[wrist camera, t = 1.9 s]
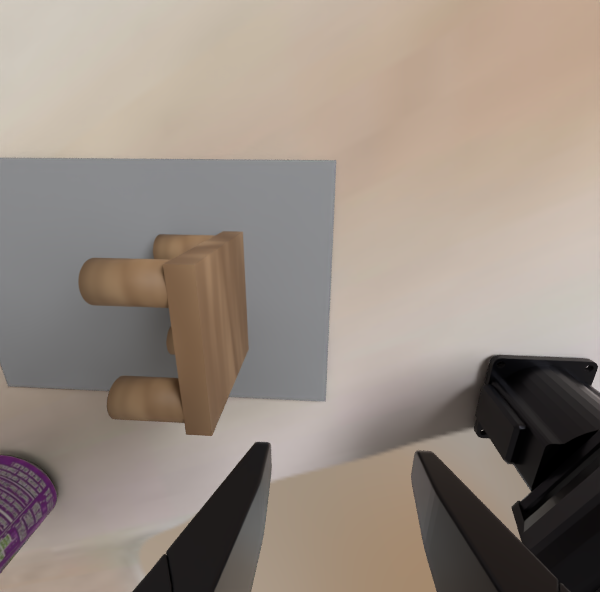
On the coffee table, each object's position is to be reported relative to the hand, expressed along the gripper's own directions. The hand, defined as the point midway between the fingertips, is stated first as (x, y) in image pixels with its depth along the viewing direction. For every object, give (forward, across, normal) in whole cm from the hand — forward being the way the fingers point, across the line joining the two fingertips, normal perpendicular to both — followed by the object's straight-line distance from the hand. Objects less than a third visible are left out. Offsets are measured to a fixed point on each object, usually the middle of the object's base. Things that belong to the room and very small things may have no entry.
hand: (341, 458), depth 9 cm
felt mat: (+13, +12, 0) cm, 18 cm away
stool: (+13, +8, 0) cm, 15 cm away
